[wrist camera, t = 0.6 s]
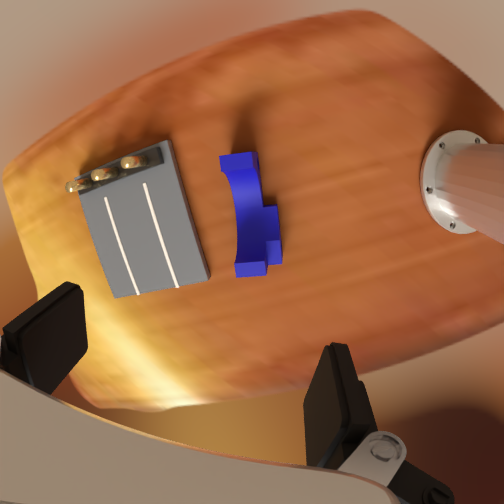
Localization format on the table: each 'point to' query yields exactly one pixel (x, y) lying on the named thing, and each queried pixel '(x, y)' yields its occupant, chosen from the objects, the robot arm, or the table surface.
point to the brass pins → (117, 171)
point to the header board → (145, 229)
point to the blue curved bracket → (252, 216)
